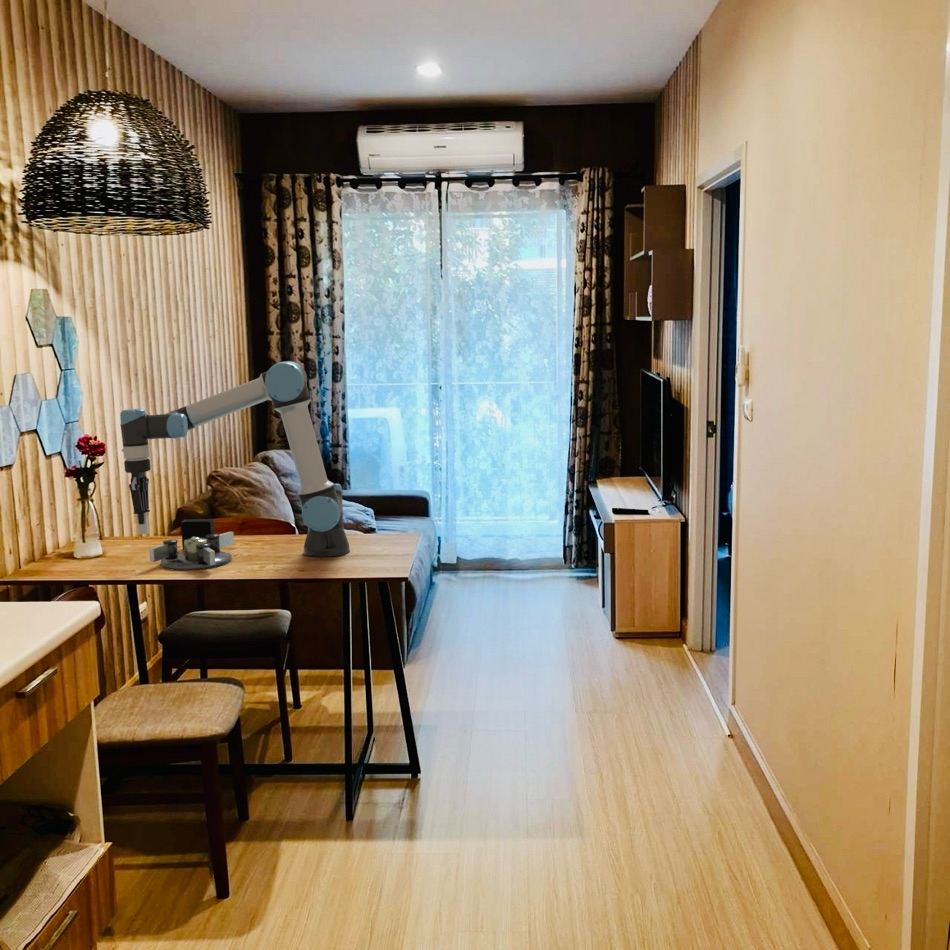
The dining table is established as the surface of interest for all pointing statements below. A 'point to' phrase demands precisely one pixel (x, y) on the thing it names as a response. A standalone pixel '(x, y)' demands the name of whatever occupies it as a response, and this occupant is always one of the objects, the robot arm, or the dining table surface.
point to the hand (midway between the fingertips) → (143, 533)
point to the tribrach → (194, 557)
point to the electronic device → (196, 528)
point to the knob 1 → (164, 551)
